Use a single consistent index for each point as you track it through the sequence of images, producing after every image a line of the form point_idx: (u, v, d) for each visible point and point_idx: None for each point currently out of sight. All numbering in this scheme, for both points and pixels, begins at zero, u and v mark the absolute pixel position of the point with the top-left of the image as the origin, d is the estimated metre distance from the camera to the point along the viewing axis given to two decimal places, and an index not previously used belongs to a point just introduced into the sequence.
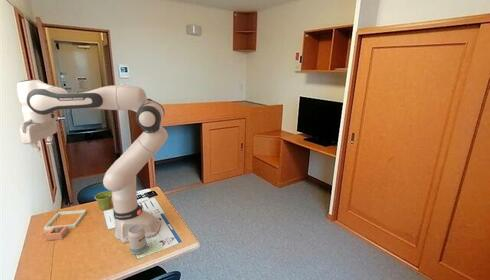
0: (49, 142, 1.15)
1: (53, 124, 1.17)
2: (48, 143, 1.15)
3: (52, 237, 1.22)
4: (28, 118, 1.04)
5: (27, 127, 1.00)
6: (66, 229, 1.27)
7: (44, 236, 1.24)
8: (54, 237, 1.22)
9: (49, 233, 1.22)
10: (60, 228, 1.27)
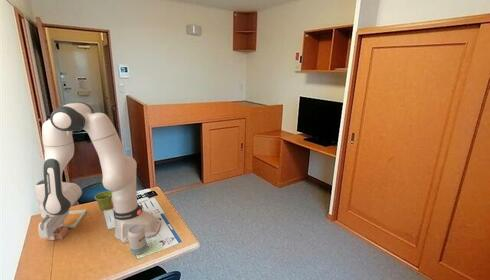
0: None
1: None
2: None
3: None
4: (45, 214, 1.17)
5: (44, 224, 1.14)
6: (66, 229, 1.27)
7: None
8: None
9: None
10: (60, 228, 1.27)
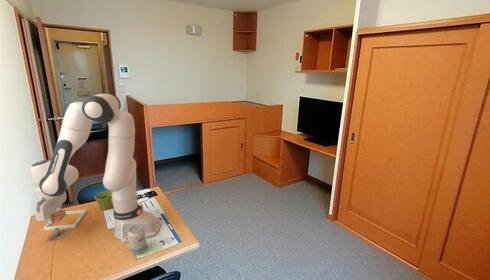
0: None
1: (63, 194, 1.28)
2: None
3: None
4: (41, 196, 1.15)
5: (40, 207, 1.11)
6: (64, 213, 1.25)
7: None
8: None
9: None
10: (58, 212, 1.25)
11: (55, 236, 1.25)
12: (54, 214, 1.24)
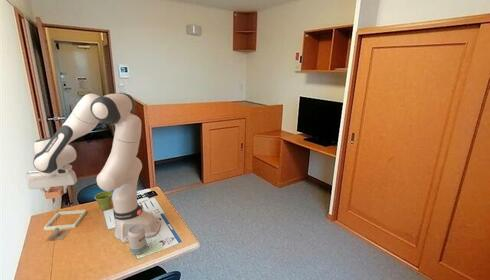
0: None
1: (68, 177, 1.27)
2: None
3: None
4: None
5: (29, 176, 1.22)
6: (57, 194, 1.26)
7: None
8: None
9: (51, 188, 1.30)
10: None
11: (55, 236, 1.25)
12: None
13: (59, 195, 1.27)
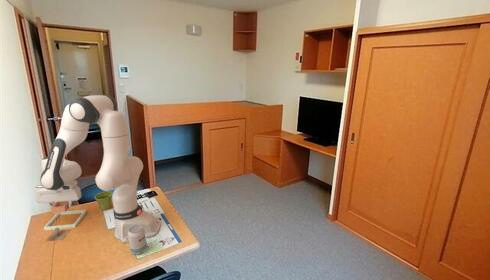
0: None
1: (72, 193, 1.31)
2: None
3: None
4: None
5: (37, 190, 1.28)
6: (62, 209, 1.31)
7: None
8: None
9: (58, 202, 1.35)
10: None
11: (55, 236, 1.25)
12: None
13: (64, 210, 1.31)
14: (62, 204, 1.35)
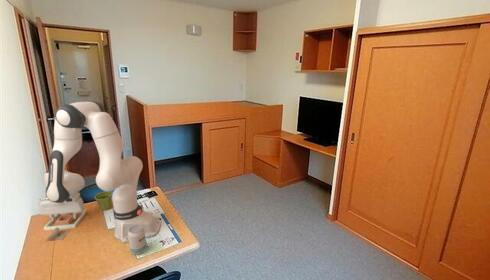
0: None
1: (75, 205, 1.33)
2: None
3: None
4: None
5: (40, 203, 1.30)
6: (65, 223, 1.33)
7: None
8: None
9: (62, 216, 1.37)
10: None
11: (55, 236, 1.25)
12: None
13: (67, 224, 1.33)
14: (66, 218, 1.38)
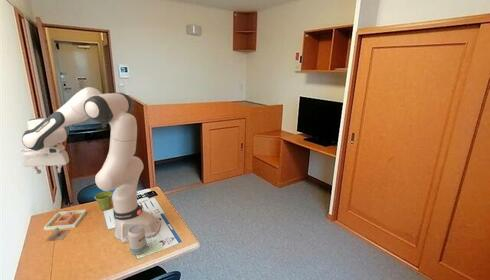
0: None
1: (59, 157, 1.30)
2: None
3: None
4: None
5: (23, 153, 1.27)
6: (65, 223, 1.33)
7: None
8: None
9: (62, 216, 1.37)
10: None
11: (55, 236, 1.25)
12: None
13: (67, 224, 1.33)
14: (66, 218, 1.38)
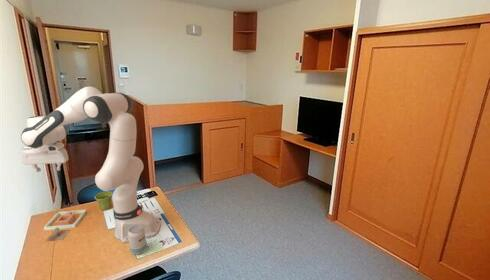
0: None
1: (59, 155, 1.30)
2: None
3: None
4: None
5: (23, 151, 1.27)
6: (65, 223, 1.33)
7: None
8: None
9: (62, 216, 1.37)
10: None
11: (55, 236, 1.25)
12: None
13: (67, 224, 1.33)
14: (66, 218, 1.38)
